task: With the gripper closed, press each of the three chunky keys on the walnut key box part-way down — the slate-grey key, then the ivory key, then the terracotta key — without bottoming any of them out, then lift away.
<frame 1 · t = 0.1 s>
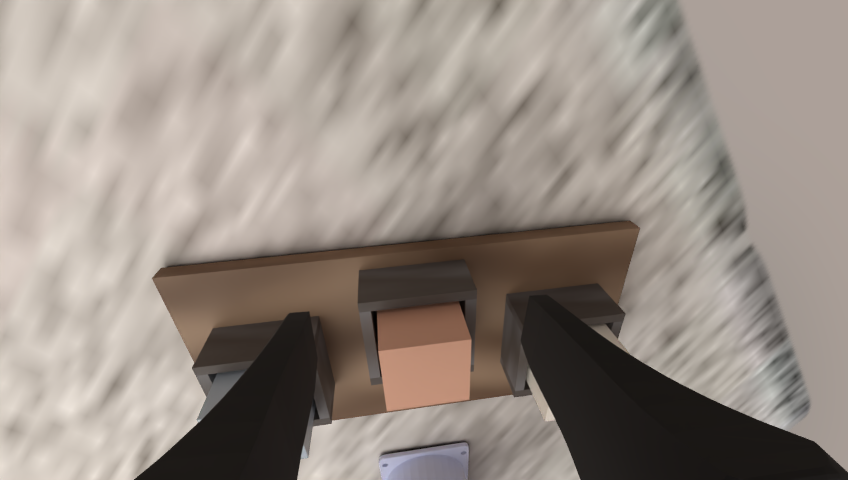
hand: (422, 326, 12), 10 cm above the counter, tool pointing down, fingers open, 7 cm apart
ivory key: (572, 367, 22), point 5 cm above the counter, slide at 0.0 cm
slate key: (264, 409, 20), point 5 cm above the counter, slide at 0.0 cm
key box: (415, 330, 25), on the counter
terracotta key: (422, 350, 20), point 5 cm above the counter, slide at 0.0 cm
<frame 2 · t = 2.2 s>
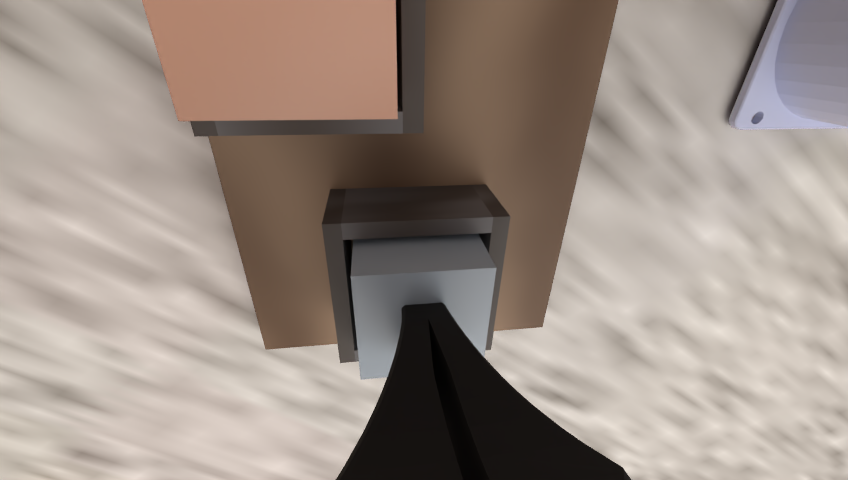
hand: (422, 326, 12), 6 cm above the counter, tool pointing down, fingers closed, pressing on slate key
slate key: (417, 294, 14), point 4 cm above the counter, slide at 0.8 cm, touching gripper
key box: (407, 13, 13), on the counter
terracotta key: (290, 0, 8), point 5 cm above the counter, slide at 0.0 cm
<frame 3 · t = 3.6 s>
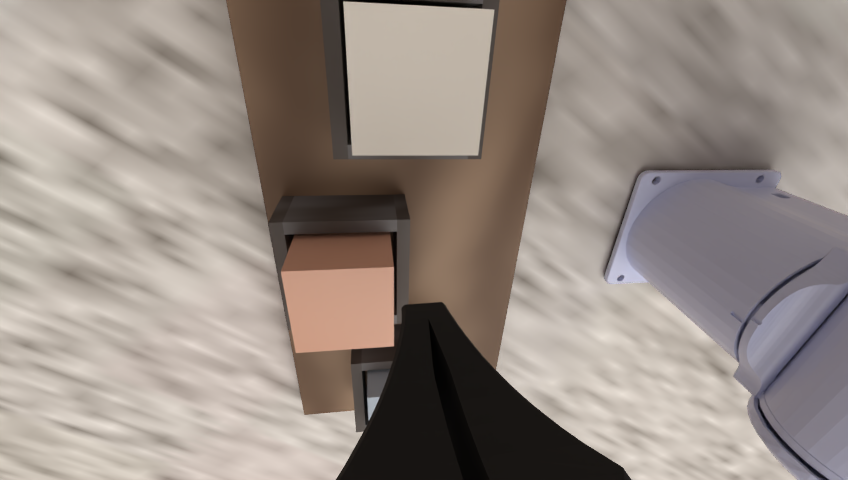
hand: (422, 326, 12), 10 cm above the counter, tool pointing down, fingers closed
ivory key: (412, 81, 13), point 5 cm above the counter, slide at 0.0 cm
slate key: (404, 393, 23), point 4 cm above the counter, slide at 0.9 cm
key box: (400, 236, 22), on the counter
terracotta key: (344, 287, 17), point 5 cm above the counter, slide at 0.0 cm
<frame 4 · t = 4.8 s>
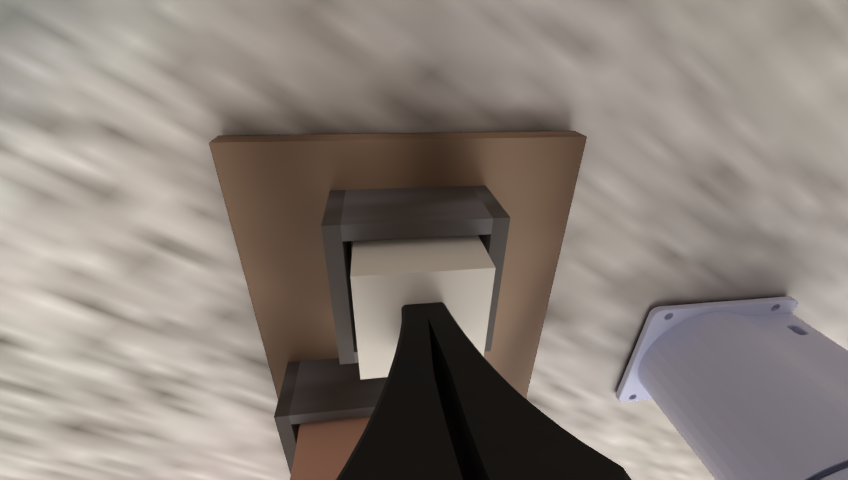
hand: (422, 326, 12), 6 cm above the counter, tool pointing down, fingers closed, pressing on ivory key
ivory key: (417, 294, 14), point 4 cm above the counter, slide at 0.9 cm, touching gripper
key box: (408, 377, 21), on the counter
terracotta key: (353, 467, 17), point 5 cm above the counter, slide at 0.0 cm
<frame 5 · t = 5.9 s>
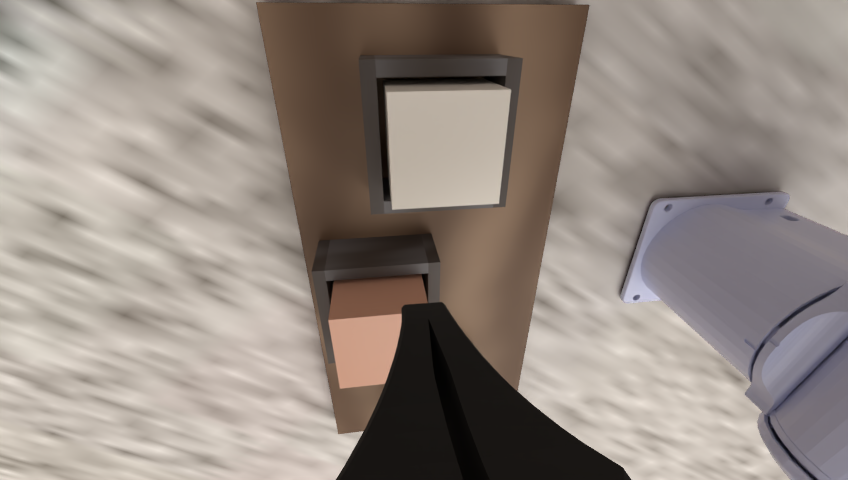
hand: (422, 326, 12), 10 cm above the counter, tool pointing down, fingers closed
ivory key: (440, 141, 15), point 4 cm above the counter, slide at 0.9 cm
key box: (427, 269, 23), on the counter
terracotta key: (381, 325, 19), point 5 cm above the counter, slide at 0.0 cm
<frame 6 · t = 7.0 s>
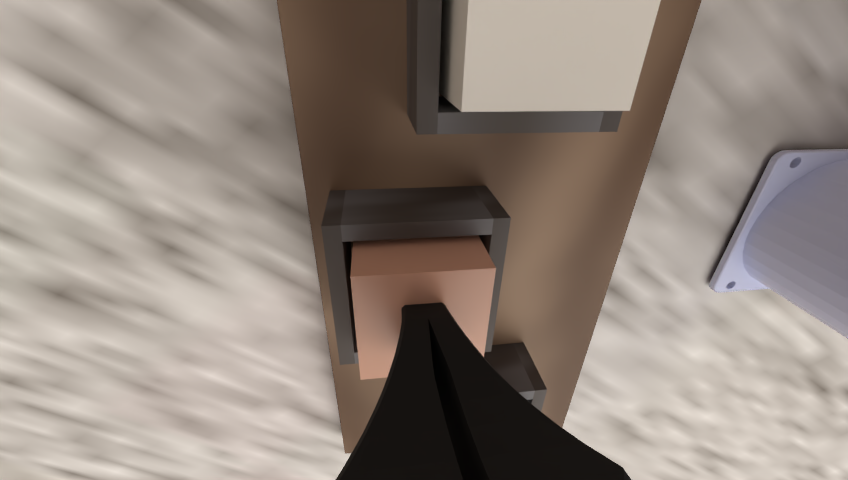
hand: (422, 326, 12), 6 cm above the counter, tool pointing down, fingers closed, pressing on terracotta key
ivory key: (535, 10, 10), point 4 cm above the counter, slide at 0.9 cm
key box: (471, 240, 17), on the counter
terracotta key: (417, 294, 14), point 4 cm above the counter, slide at 0.9 cm, touching gripper
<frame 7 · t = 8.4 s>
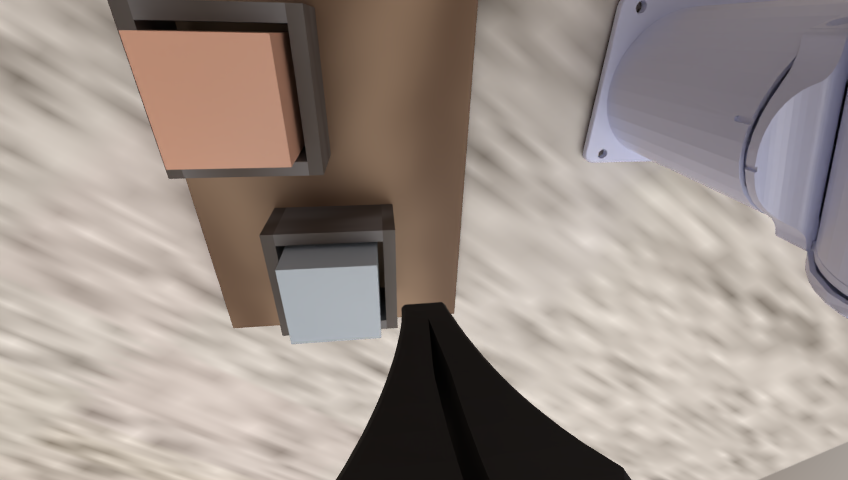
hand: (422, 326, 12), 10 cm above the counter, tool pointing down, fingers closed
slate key: (335, 284, 19), point 4 cm above the counter, slide at 0.9 cm
key box: (323, 84, 18), on the counter
terracotta key: (231, 97, 14), point 4 cm above the counter, slide at 0.9 cm
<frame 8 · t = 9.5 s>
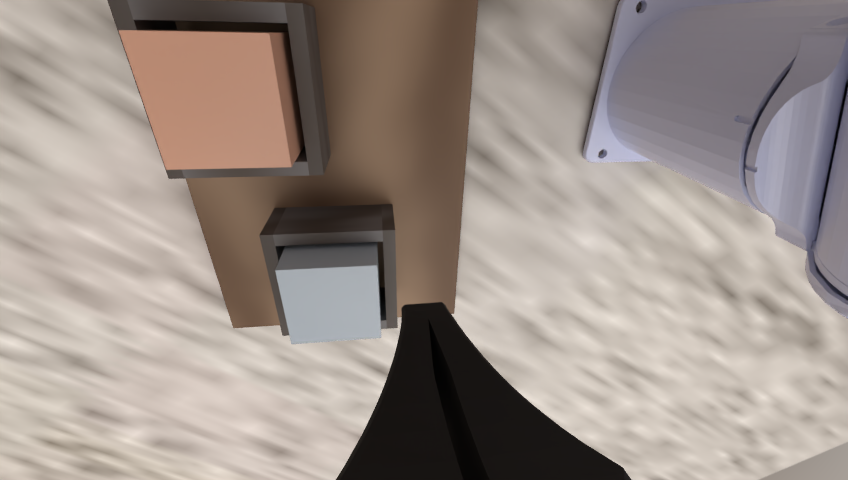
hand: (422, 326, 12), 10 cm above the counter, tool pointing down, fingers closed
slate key: (335, 284, 19), point 4 cm above the counter, slide at 0.9 cm
key box: (323, 84, 18), on the counter
terracotta key: (231, 97, 14), point 4 cm above the counter, slide at 0.9 cm
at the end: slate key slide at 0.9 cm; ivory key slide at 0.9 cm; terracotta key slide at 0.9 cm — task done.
